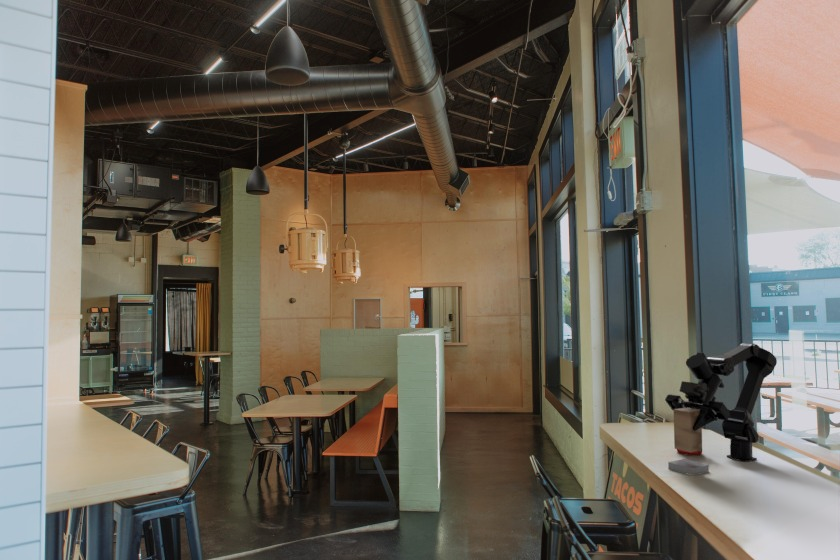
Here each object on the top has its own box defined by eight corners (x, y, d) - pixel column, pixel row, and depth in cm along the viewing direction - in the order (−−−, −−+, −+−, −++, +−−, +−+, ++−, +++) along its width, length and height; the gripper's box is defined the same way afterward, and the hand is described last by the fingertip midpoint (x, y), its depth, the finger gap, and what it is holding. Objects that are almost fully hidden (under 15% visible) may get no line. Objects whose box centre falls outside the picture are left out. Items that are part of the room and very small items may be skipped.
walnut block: (685, 446, 171) (684, 407, 172) (702, 450, 166) (701, 410, 167) (674, 448, 168) (673, 409, 169) (690, 452, 164) (689, 412, 164)
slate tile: (684, 466, 172) (684, 458, 173) (708, 473, 165) (708, 464, 166) (668, 470, 168) (668, 462, 169) (692, 477, 161) (692, 468, 162)
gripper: (667, 369, 179) (646, 406, 173) (723, 375, 162) (701, 416, 156) (683, 391, 182) (663, 428, 176) (739, 399, 166) (718, 440, 160)
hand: (684, 427), depth 167 cm, fingers closed on walnut block, 5 cm apart
